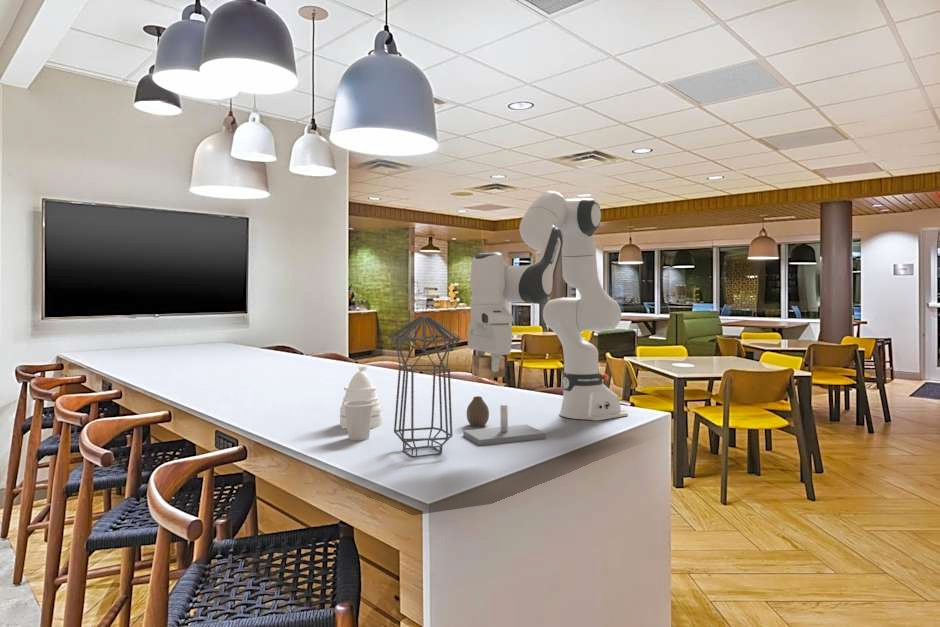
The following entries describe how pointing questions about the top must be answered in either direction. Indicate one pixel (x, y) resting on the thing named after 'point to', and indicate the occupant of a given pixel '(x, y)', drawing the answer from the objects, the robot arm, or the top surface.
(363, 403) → the dixie cup
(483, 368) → the brown hollow square block
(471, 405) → the vase
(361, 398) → the honey pot
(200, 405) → the top surface
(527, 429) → the board
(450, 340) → the geometric lantern
